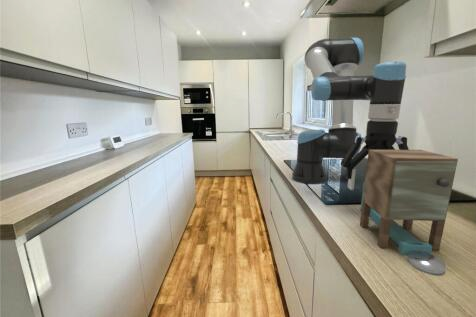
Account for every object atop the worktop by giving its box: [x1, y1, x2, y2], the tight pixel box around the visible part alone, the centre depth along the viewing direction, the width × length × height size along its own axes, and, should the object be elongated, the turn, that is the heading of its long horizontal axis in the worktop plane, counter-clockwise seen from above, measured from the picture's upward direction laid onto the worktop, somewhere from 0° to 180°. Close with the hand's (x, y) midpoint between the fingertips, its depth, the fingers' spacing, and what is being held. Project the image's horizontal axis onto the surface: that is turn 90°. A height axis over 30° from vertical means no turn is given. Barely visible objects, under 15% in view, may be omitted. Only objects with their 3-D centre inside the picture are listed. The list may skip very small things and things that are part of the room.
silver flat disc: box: [407, 251, 446, 276], centre depth 47 cm, size 6×6×2 cm
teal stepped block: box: [359, 181, 433, 256], centre depth 60 cm, size 23×6×10 cm, turn 175°
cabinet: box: [359, 149, 459, 252], centre depth 54 cm, size 13×13×22 cm
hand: (373, 189), depth 69 cm, fingers open, 13 cm apart
